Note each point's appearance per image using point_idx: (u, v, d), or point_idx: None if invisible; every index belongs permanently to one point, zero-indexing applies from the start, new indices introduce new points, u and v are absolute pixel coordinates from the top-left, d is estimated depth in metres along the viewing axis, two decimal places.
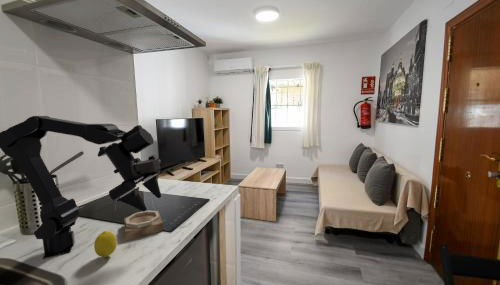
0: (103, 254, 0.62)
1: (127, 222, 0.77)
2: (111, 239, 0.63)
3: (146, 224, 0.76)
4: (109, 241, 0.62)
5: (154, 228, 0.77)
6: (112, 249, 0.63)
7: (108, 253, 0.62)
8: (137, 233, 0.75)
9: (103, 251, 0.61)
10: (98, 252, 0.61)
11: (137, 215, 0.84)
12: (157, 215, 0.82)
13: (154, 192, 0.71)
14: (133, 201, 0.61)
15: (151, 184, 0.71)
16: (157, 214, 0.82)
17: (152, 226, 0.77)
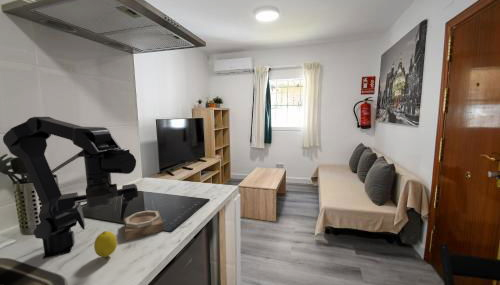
0: (103, 254, 0.62)
1: (127, 222, 0.77)
2: (111, 239, 0.63)
3: (146, 224, 0.76)
4: (109, 241, 0.62)
5: (154, 228, 0.77)
6: (112, 249, 0.63)
7: (108, 253, 0.62)
8: (137, 233, 0.75)
9: (103, 251, 0.61)
10: (98, 252, 0.61)
11: (137, 215, 0.84)
12: (157, 215, 0.82)
13: None
14: None
15: (122, 204, 0.65)
16: (157, 214, 0.82)
17: (152, 226, 0.77)
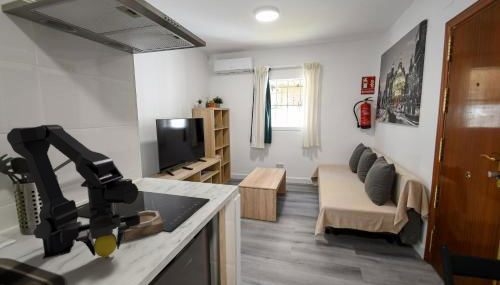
0: (103, 254, 0.62)
1: None
2: (111, 238, 0.63)
3: (146, 224, 0.76)
4: (109, 240, 0.62)
5: (154, 228, 0.77)
6: (112, 249, 0.63)
7: (108, 253, 0.62)
8: (137, 233, 0.75)
9: (103, 251, 0.61)
10: (98, 252, 0.61)
11: None
12: (157, 215, 0.82)
13: None
14: None
15: (118, 232, 0.65)
16: (157, 214, 0.82)
17: (152, 226, 0.77)
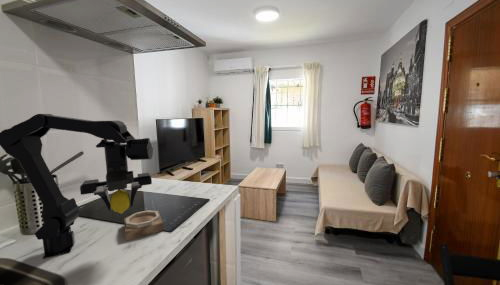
0: (118, 209, 0.67)
1: (127, 222, 0.77)
2: (125, 196, 0.68)
3: (146, 224, 0.76)
4: (123, 197, 0.68)
5: (154, 228, 0.77)
6: (126, 206, 0.68)
7: (122, 209, 0.68)
8: (137, 233, 0.75)
9: (118, 206, 0.67)
10: (113, 207, 0.67)
11: (137, 215, 0.84)
12: (157, 215, 0.82)
13: (130, 198, 0.71)
14: None
15: None
16: (157, 214, 0.82)
17: (152, 226, 0.77)
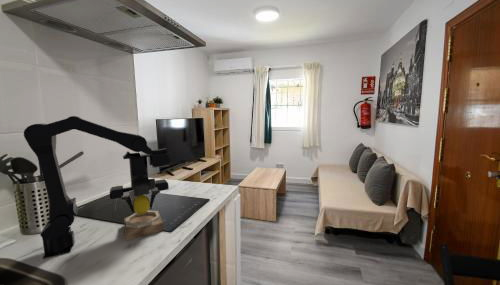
0: (140, 211, 0.78)
1: (127, 222, 0.77)
2: (146, 200, 0.79)
3: (146, 224, 0.76)
4: (145, 201, 0.78)
5: (154, 228, 0.77)
6: (147, 208, 0.79)
7: (144, 211, 0.78)
8: (137, 233, 0.75)
9: (140, 208, 0.77)
10: (136, 209, 0.77)
11: (137, 215, 0.84)
12: (157, 215, 0.82)
13: None
14: None
15: (150, 196, 0.81)
16: (157, 214, 0.82)
17: (152, 226, 0.77)
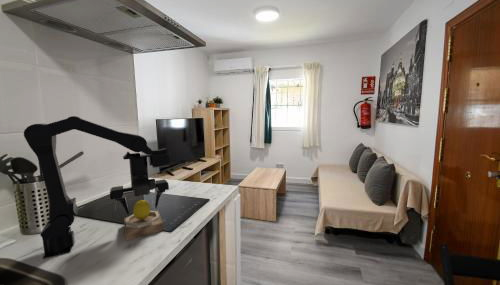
0: (141, 217, 0.78)
1: (127, 222, 0.77)
2: (146, 205, 0.79)
3: (146, 224, 0.76)
4: (145, 206, 0.78)
5: (154, 228, 0.77)
6: (147, 214, 0.79)
7: (144, 216, 0.79)
8: (137, 233, 0.75)
9: (141, 214, 0.77)
10: (137, 215, 0.77)
11: None
12: (157, 215, 0.82)
13: None
14: None
15: (156, 195, 0.82)
16: (157, 214, 0.82)
17: (152, 226, 0.77)
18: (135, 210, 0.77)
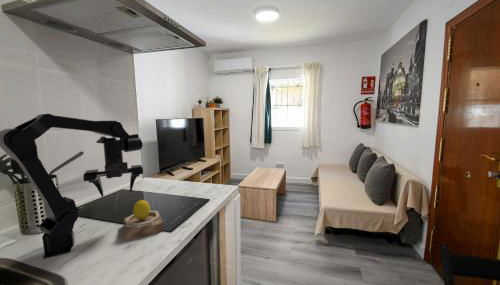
0: (140, 217, 0.78)
1: (127, 222, 0.77)
2: (146, 205, 0.79)
3: (146, 224, 0.76)
4: (145, 206, 0.78)
5: (154, 228, 0.77)
6: (147, 213, 0.79)
7: (144, 216, 0.79)
8: (137, 233, 0.75)
9: (140, 214, 0.77)
10: (137, 215, 0.77)
11: None
12: (157, 215, 0.82)
13: (130, 185, 0.85)
14: None
15: (131, 179, 0.85)
16: (157, 214, 0.82)
17: (152, 226, 0.77)
18: (135, 210, 0.77)
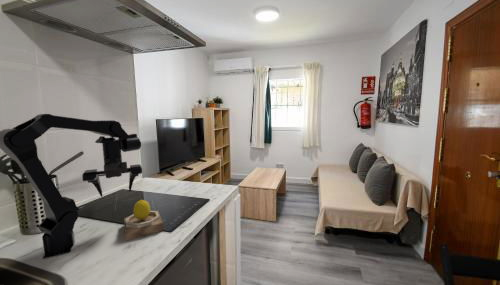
0: (141, 217, 0.78)
1: (127, 222, 0.77)
2: (146, 205, 0.79)
3: (146, 224, 0.76)
4: (145, 206, 0.78)
5: (154, 228, 0.77)
6: (147, 213, 0.79)
7: (144, 216, 0.79)
8: (137, 233, 0.75)
9: (141, 214, 0.77)
10: (137, 215, 0.77)
11: None
12: (157, 215, 0.82)
13: (129, 185, 0.86)
14: None
15: (130, 179, 0.85)
16: (157, 214, 0.82)
17: (152, 226, 0.77)
18: (135, 210, 0.77)
